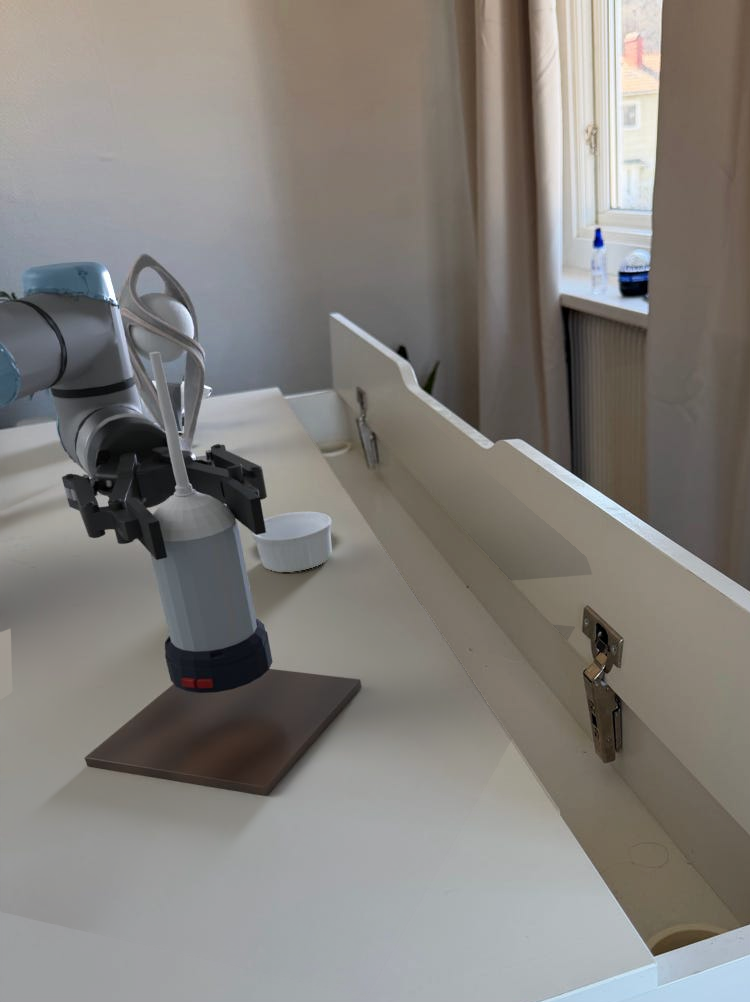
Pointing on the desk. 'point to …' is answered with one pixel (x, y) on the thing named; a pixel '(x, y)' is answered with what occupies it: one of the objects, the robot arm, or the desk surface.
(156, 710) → the mat
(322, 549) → the ramekin
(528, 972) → the desk surface
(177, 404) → the dark grey angular block
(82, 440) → the robot arm
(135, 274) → the sculpture
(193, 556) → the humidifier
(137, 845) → the desk surface
